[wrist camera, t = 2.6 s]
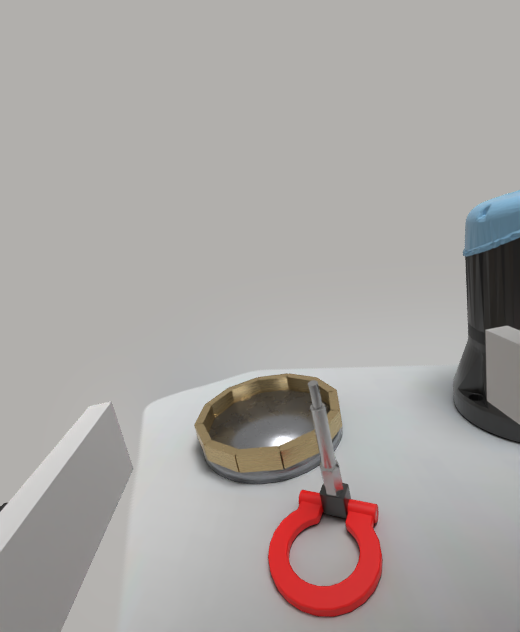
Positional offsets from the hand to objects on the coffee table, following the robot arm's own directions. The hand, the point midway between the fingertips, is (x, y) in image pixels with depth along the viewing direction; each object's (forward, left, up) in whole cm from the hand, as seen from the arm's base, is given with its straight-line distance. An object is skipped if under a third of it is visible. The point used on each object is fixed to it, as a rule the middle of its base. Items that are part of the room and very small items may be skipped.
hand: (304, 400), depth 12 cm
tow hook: (+6, -8, -19) cm, 22 cm away
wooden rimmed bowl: (+19, -19, -19) cm, 33 cm away
